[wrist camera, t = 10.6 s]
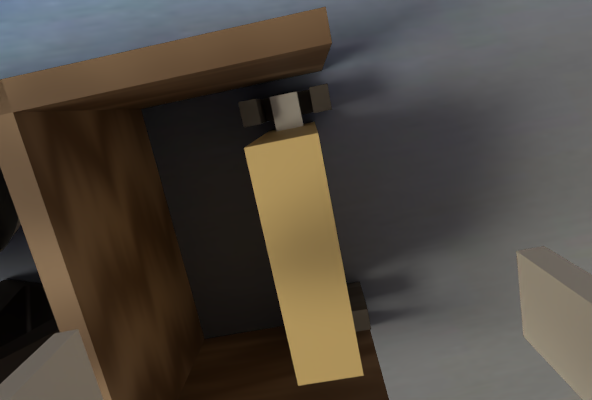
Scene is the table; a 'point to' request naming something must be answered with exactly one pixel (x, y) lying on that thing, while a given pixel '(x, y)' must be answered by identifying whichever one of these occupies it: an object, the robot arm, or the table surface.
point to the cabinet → (153, 213)
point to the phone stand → (22, 323)
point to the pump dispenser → (7, 214)
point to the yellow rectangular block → (303, 246)
